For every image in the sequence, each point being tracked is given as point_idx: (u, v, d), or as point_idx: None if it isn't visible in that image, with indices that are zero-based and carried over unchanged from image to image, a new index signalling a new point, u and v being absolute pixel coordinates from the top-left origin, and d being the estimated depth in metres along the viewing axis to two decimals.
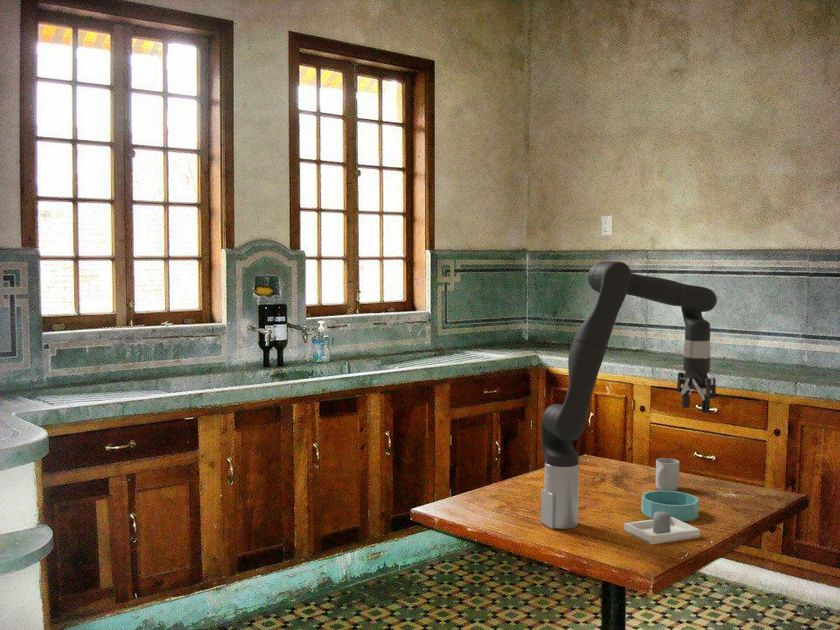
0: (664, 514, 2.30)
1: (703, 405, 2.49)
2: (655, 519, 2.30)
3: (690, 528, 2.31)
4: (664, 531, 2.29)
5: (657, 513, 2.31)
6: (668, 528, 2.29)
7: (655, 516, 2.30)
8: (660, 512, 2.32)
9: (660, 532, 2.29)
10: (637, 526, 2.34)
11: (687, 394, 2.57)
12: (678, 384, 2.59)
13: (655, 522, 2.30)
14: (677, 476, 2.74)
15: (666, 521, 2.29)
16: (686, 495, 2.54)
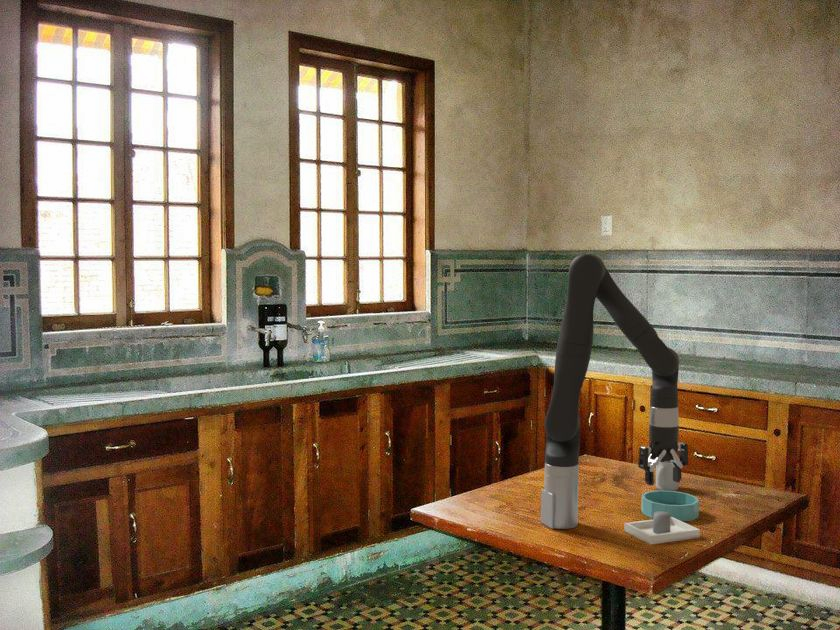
0: (664, 514, 2.30)
1: (679, 474, 2.31)
2: (655, 519, 2.30)
3: (690, 528, 2.31)
4: (664, 531, 2.29)
5: (657, 513, 2.31)
6: (668, 528, 2.29)
7: (655, 516, 2.30)
8: (660, 512, 2.32)
9: (660, 532, 2.29)
10: (637, 526, 2.34)
11: None
12: (645, 462, 2.26)
13: (655, 522, 2.30)
14: None
15: (666, 521, 2.29)
16: (686, 495, 2.54)
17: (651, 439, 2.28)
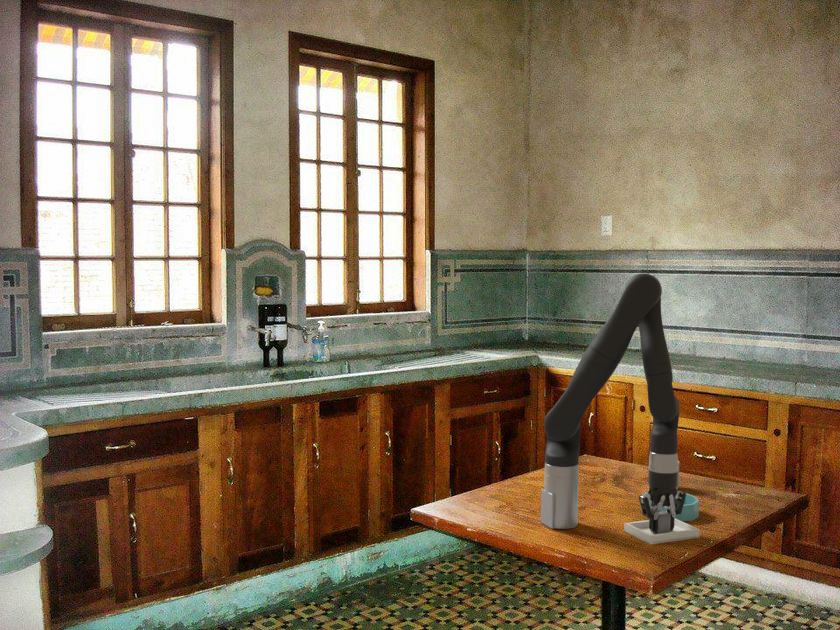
0: (664, 514, 2.30)
1: (672, 523, 2.31)
2: None
3: (690, 528, 2.31)
4: (664, 531, 2.29)
5: None
6: (668, 528, 2.29)
7: None
8: (660, 512, 2.32)
9: (660, 532, 2.29)
10: (637, 526, 2.34)
11: None
12: (648, 510, 2.28)
13: None
14: None
15: (666, 521, 2.29)
16: (686, 495, 2.54)
17: (650, 484, 2.29)
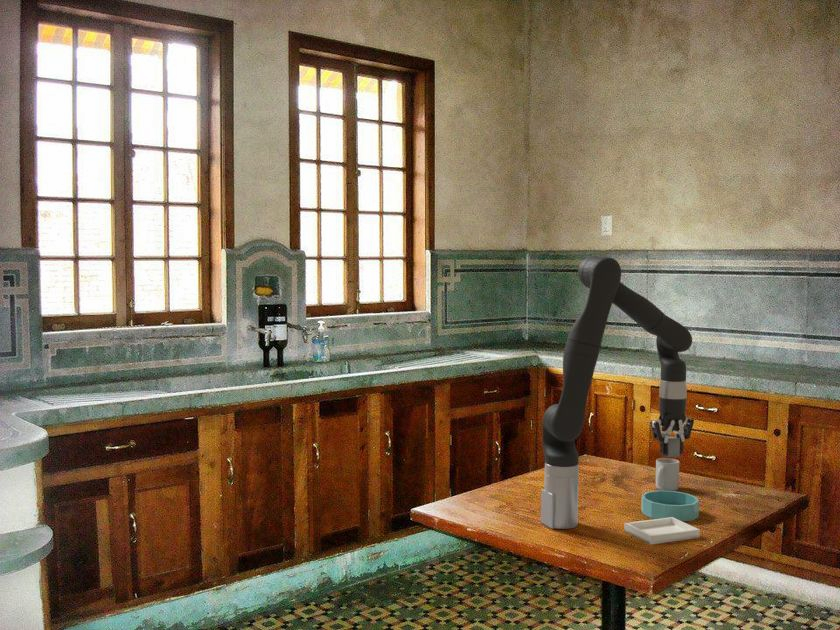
0: (674, 438, 2.48)
1: (681, 446, 2.49)
2: None
3: (690, 528, 2.31)
4: (674, 454, 2.47)
5: None
6: (677, 451, 2.47)
7: None
8: (670, 437, 2.50)
9: (670, 455, 2.47)
10: (637, 526, 2.34)
11: None
12: (658, 434, 2.45)
13: None
14: (677, 476, 2.74)
15: (675, 444, 2.46)
16: (686, 495, 2.54)
17: (661, 410, 2.47)
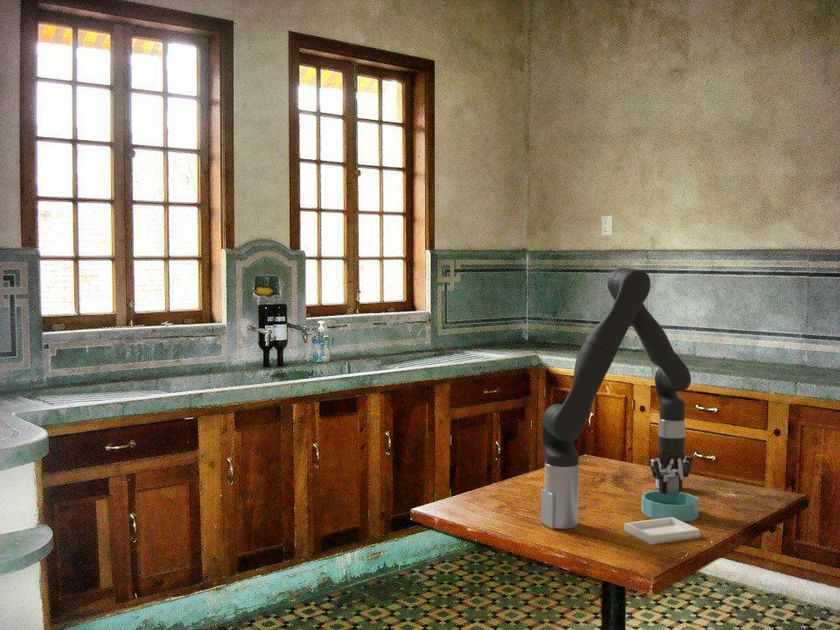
0: (673, 477, 2.49)
1: (680, 484, 2.50)
2: None
3: (690, 528, 2.31)
4: (673, 492, 2.48)
5: None
6: (676, 489, 2.48)
7: None
8: (669, 475, 2.50)
9: (669, 493, 2.48)
10: (637, 526, 2.34)
11: None
12: (658, 473, 2.46)
13: None
14: None
15: (675, 483, 2.47)
16: (686, 495, 2.54)
17: (660, 449, 2.48)
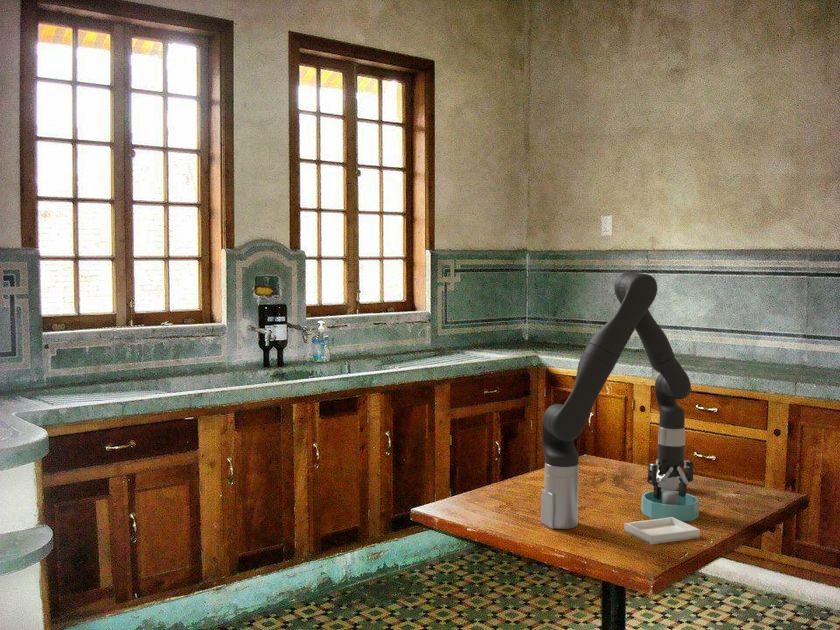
0: (672, 494, 2.49)
1: (685, 489, 2.51)
2: (664, 498, 2.49)
3: (690, 528, 2.31)
4: None
5: (666, 493, 2.50)
6: None
7: (664, 495, 2.49)
8: (669, 492, 2.51)
9: None
10: (637, 526, 2.34)
11: None
12: (654, 478, 2.46)
13: (664, 501, 2.49)
14: None
15: (674, 500, 2.48)
16: (686, 495, 2.54)
17: (659, 457, 2.48)
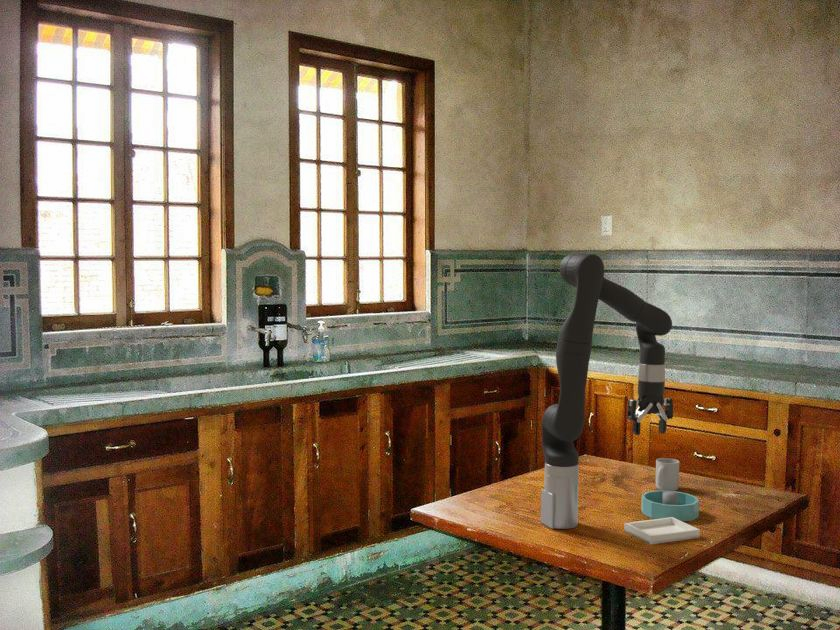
0: (672, 494, 2.49)
1: (664, 426, 2.53)
2: (664, 498, 2.49)
3: (690, 528, 2.31)
4: None
5: (666, 493, 2.50)
6: None
7: (664, 495, 2.49)
8: (669, 492, 2.51)
9: None
10: (637, 526, 2.34)
11: None
12: (633, 413, 2.49)
13: (664, 501, 2.49)
14: (677, 476, 2.74)
15: (674, 500, 2.48)
16: (686, 495, 2.54)
17: (639, 393, 2.51)
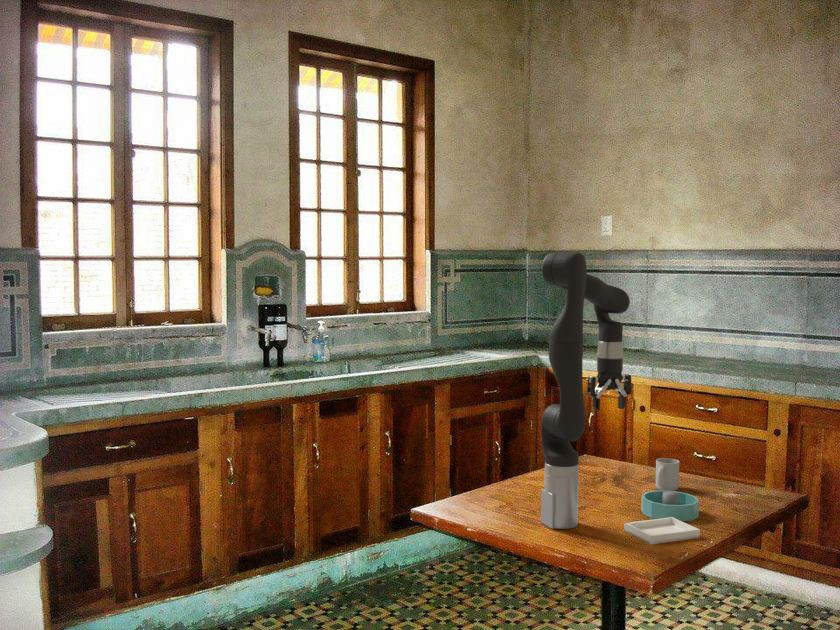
0: (672, 494, 2.49)
1: (623, 401, 2.61)
2: (664, 498, 2.49)
3: (690, 528, 2.31)
4: None
5: (666, 493, 2.50)
6: None
7: (664, 495, 2.49)
8: (669, 492, 2.51)
9: None
10: (637, 526, 2.34)
11: None
12: (592, 389, 2.57)
13: (664, 501, 2.49)
14: (677, 476, 2.74)
15: (674, 500, 2.48)
16: (686, 495, 2.54)
17: (598, 370, 2.59)
